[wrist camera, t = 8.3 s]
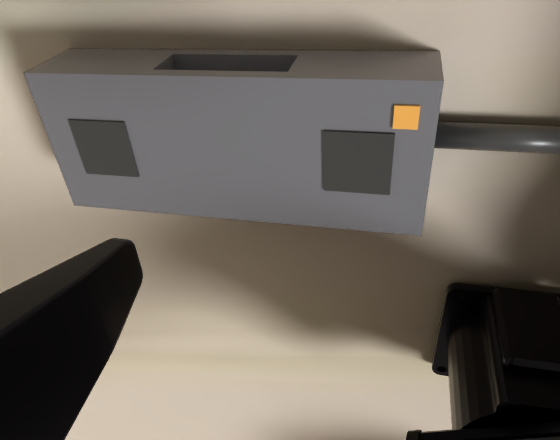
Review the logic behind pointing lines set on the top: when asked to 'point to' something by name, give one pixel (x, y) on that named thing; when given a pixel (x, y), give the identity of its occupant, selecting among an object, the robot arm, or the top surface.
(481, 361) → the robot arm
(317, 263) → the top surface
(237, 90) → the power strip
